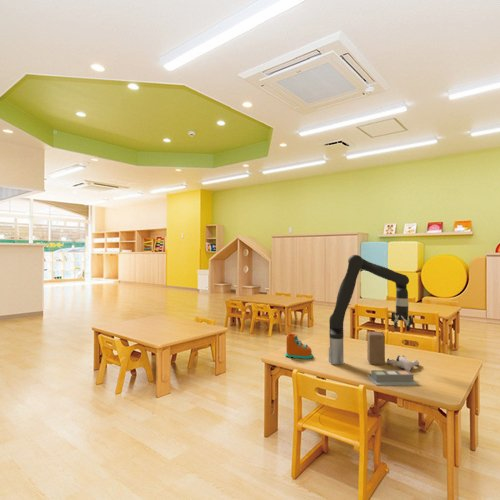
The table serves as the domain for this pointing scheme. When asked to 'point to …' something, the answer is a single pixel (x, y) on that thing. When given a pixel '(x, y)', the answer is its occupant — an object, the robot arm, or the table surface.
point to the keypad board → (392, 378)
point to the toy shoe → (297, 348)
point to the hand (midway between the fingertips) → (401, 329)
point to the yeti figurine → (403, 363)
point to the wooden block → (376, 348)
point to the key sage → (379, 372)
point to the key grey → (391, 372)
